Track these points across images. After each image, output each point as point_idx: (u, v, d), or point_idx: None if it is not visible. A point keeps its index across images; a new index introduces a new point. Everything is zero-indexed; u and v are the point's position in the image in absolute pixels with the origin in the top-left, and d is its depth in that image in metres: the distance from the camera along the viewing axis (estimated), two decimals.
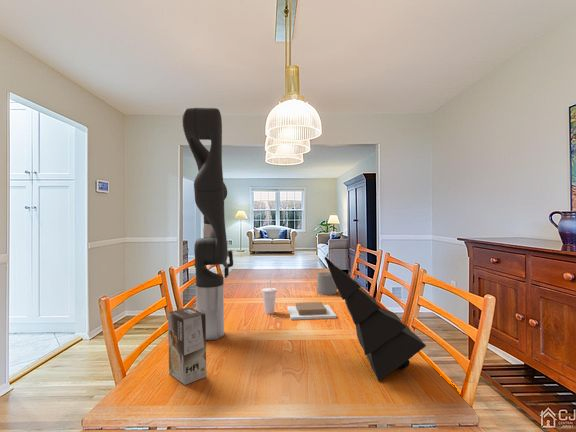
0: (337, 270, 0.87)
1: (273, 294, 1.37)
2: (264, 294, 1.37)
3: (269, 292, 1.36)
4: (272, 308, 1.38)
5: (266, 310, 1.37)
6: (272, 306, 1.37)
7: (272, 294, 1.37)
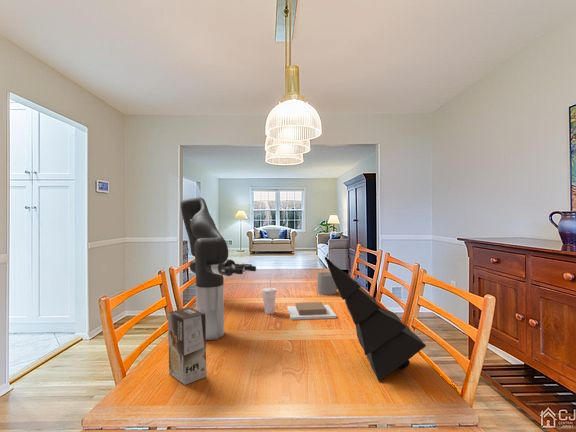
0: (337, 270, 0.87)
1: (273, 294, 1.37)
2: (264, 294, 1.37)
3: (269, 292, 1.36)
4: (272, 308, 1.38)
5: (266, 310, 1.37)
6: (272, 306, 1.37)
7: (272, 294, 1.37)
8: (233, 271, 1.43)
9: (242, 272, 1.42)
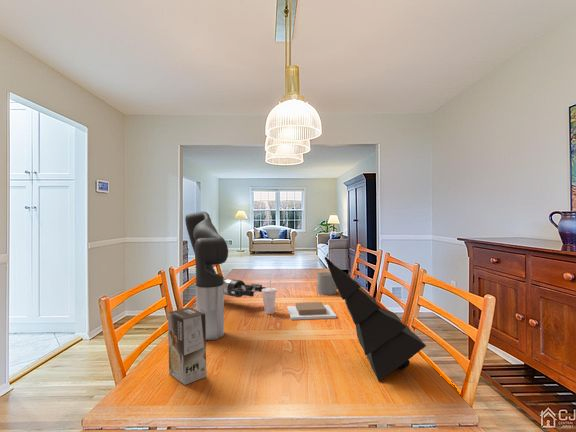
0: (337, 270, 0.87)
1: (273, 294, 1.37)
2: (264, 294, 1.37)
3: (269, 292, 1.36)
4: (272, 308, 1.38)
5: (266, 310, 1.37)
6: (272, 306, 1.37)
7: (272, 294, 1.37)
8: (244, 293, 1.40)
9: (253, 294, 1.39)
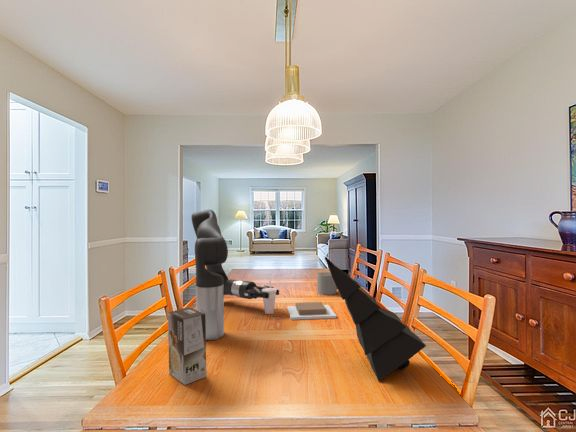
0: (337, 270, 0.87)
1: (273, 294, 1.37)
2: None
3: (269, 292, 1.36)
4: (272, 308, 1.38)
5: (266, 310, 1.37)
6: (272, 306, 1.37)
7: (272, 294, 1.37)
8: (258, 295, 1.36)
9: (268, 296, 1.35)
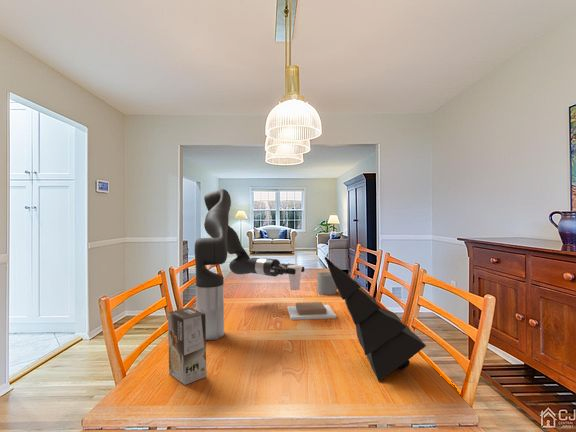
0: (337, 270, 0.87)
1: (299, 270, 1.37)
2: None
3: (295, 268, 1.36)
4: (298, 284, 1.37)
5: (292, 286, 1.37)
6: (298, 282, 1.37)
7: (298, 270, 1.36)
8: (285, 271, 1.36)
9: (295, 272, 1.35)
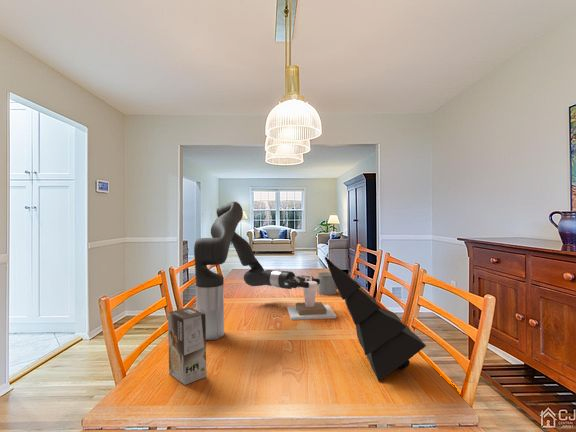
0: (337, 270, 0.87)
1: (314, 287, 1.36)
2: None
3: (310, 285, 1.34)
4: (313, 301, 1.36)
5: (307, 303, 1.36)
6: (313, 299, 1.36)
7: (313, 287, 1.35)
8: (298, 284, 1.34)
9: (308, 286, 1.33)
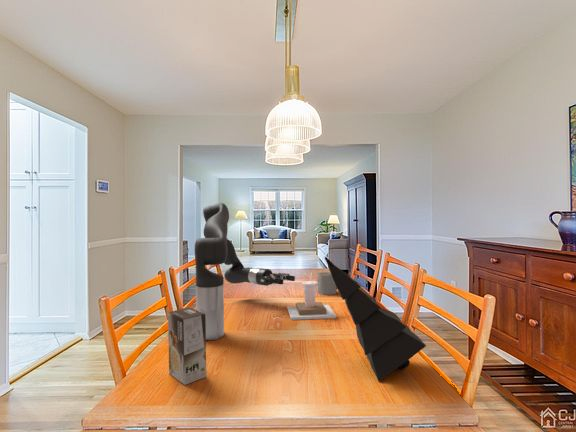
0: (337, 270, 0.87)
1: (314, 287, 1.36)
2: (305, 287, 1.35)
3: (311, 285, 1.34)
4: (313, 301, 1.36)
5: (307, 303, 1.36)
6: (313, 299, 1.36)
7: (313, 287, 1.35)
8: (273, 281, 1.42)
9: None
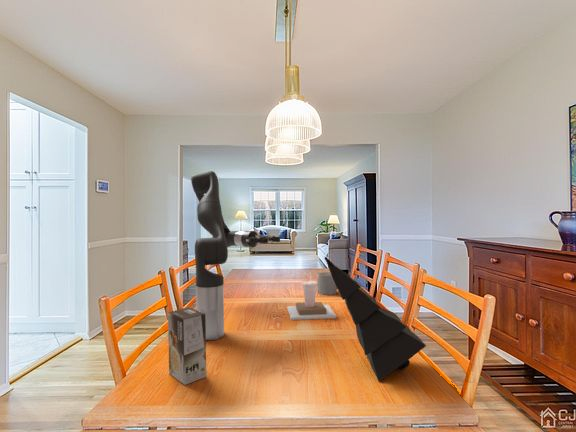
0: (337, 270, 0.87)
1: (314, 287, 1.36)
2: (305, 287, 1.35)
3: (311, 285, 1.34)
4: (313, 301, 1.36)
5: (307, 303, 1.36)
6: (313, 299, 1.36)
7: (313, 287, 1.35)
8: (258, 240, 1.42)
9: (267, 241, 1.41)
